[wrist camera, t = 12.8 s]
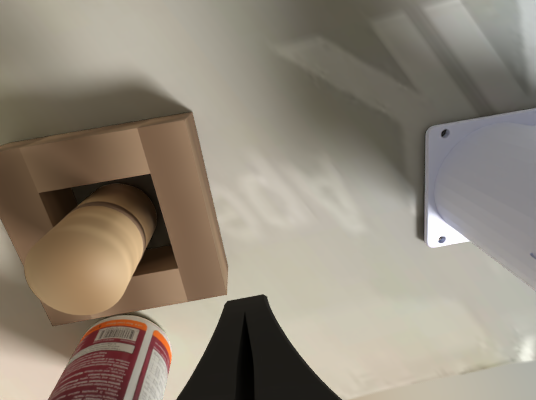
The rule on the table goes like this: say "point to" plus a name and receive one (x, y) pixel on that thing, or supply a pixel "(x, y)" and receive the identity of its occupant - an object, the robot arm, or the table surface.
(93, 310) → the peg
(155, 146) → the board
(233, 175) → the table surface
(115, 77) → the table surface
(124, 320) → the pill bottle
